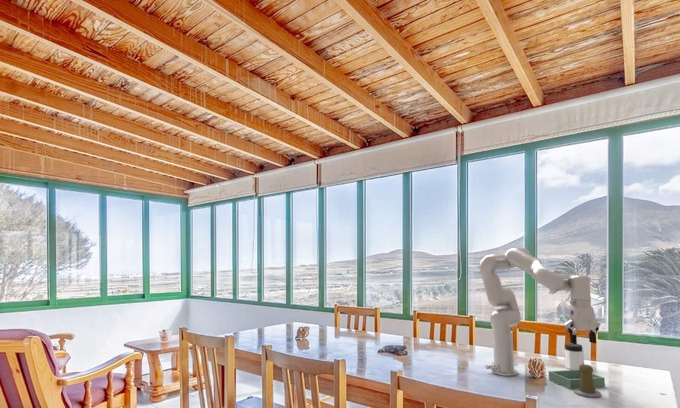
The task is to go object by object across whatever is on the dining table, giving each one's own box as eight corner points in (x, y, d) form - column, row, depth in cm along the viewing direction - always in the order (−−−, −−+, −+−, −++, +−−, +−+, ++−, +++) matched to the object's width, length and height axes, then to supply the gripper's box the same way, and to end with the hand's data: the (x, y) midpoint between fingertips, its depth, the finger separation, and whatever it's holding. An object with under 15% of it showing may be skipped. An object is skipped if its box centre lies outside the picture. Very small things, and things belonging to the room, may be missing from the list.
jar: (578, 371, 211) (576, 347, 213) (562, 367, 218) (561, 344, 219) (587, 368, 216) (585, 345, 217) (571, 365, 223) (570, 342, 224)
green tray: (570, 389, 184) (569, 380, 184) (548, 380, 197) (548, 371, 198) (605, 386, 187) (604, 377, 187) (581, 377, 201) (581, 369, 201)
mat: (586, 398, 172) (586, 396, 172) (568, 390, 182) (568, 388, 182) (606, 397, 174) (606, 394, 174) (588, 389, 184) (588, 387, 184)
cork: (580, 388, 182) (578, 362, 184) (596, 390, 179) (594, 364, 180) (578, 392, 177) (577, 365, 179) (595, 394, 174) (593, 367, 175)
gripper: (570, 305, 177) (572, 345, 175) (604, 304, 180) (607, 344, 179) (557, 302, 184) (559, 341, 183) (591, 302, 188) (593, 340, 186)
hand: (583, 343), depth 181 cm, fingers open, 9 cm apart
